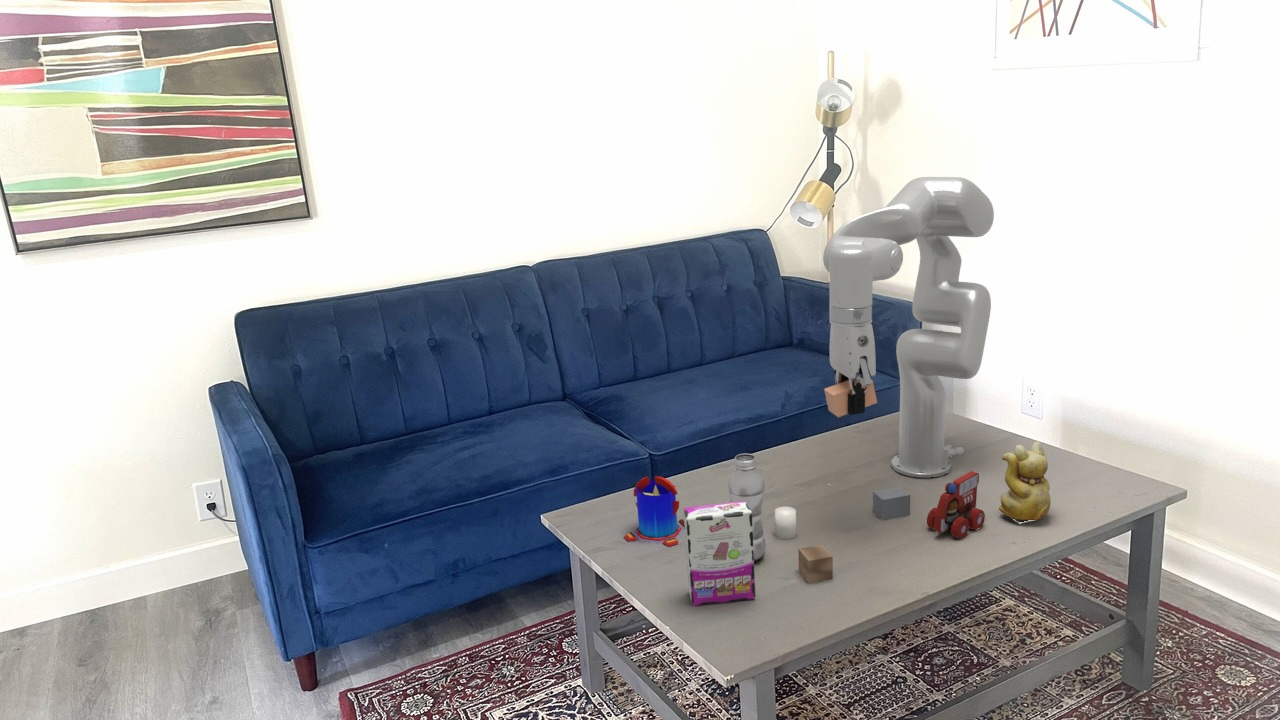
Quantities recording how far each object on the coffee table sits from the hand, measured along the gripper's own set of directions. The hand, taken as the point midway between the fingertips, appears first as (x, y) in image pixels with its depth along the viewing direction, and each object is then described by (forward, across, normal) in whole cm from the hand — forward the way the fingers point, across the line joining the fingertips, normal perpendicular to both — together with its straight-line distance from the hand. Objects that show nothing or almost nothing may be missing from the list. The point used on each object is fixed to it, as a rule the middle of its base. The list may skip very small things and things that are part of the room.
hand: (850, 408), depth 171 cm
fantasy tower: (+25, +13, +35) cm, 45 cm away
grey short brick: (+25, +4, -11) cm, 28 cm away
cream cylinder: (+25, +3, +12) cm, 28 cm away
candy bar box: (+25, -14, +31) cm, 42 cm away
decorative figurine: (+25, -7, -34) cm, 43 cm away
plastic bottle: (+25, -3, +22) cm, 34 cm away
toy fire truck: (+25, -6, -19) cm, 32 cm away
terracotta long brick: (0, 0, 0) cm, 1 cm away
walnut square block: (+25, -13, +13) cm, 31 cm away
